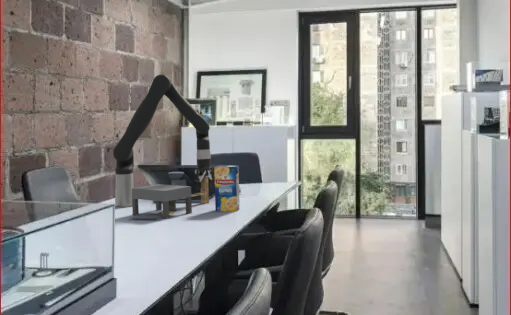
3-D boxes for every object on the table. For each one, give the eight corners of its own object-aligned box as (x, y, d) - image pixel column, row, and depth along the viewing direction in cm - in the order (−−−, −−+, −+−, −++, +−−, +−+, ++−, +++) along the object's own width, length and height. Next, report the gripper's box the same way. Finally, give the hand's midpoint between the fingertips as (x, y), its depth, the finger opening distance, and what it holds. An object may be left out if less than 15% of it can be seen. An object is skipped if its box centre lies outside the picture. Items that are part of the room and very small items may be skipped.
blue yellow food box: (237, 211, 283) (236, 166, 282) (215, 211, 285) (214, 166, 283) (239, 208, 290) (238, 165, 288) (218, 208, 292) (217, 165, 290)
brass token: (161, 215, 279) (160, 212, 279) (167, 213, 282) (167, 210, 282) (167, 216, 276) (167, 212, 276) (174, 214, 280) (174, 211, 280)
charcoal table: (132, 215, 279) (131, 188, 278) (158, 209, 294) (158, 184, 293) (166, 218, 266) (165, 190, 265) (191, 212, 281) (191, 186, 280)
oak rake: (203, 202, 315) (202, 176, 314) (210, 203, 312) (209, 177, 311) (166, 210, 291) (166, 182, 290) (174, 210, 288) (173, 183, 287)
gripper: (206, 156, 318) (207, 186, 319) (189, 158, 306) (190, 189, 308) (217, 157, 314) (218, 186, 315) (200, 159, 302) (201, 189, 303)
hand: (204, 187), depth 311 cm, fingers open, 8 cm apart
